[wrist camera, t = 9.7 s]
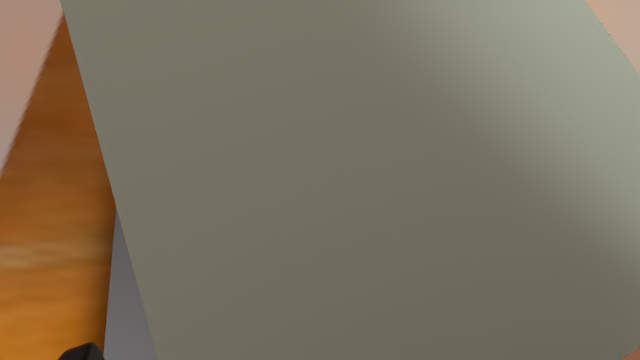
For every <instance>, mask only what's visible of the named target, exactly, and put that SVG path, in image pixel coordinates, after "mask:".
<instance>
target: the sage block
mask: <svg viewBox="0 0 640 360" xmlns="http://www.w3.org/2000/svg"><path fill="white" fill-rule="evenodd" d="M60 1H61V4H62V8H63V12H64V15H65V19H66V23H67V27H68V30H69V34H70V38H71V41H72V45H73V49H74V52H75V56H76V60H77V63H78V67H79V71H80V75H81V78H82V82H83V86H84V89H85V93H86V97H87V100H88V104H89V108H90V112H91V115H92V119H93V123H94V126H95V130H96V134H97V137H98V141H99V145H100V148H101V152H102V156H103V160H104V163H105V167H106V171H107V174H108V178H109V182H110V185H111V189H112V193H113V196H114V200H115V204H116V208H117V211H118V215H119V219H120V222H121V226H122V230H123V233H124V237H125V241H126V245H127V248H128V252H129V256H130V259H131V263H132V267H133V270H134V274H135V278H136V281H137V285H138V289H139V293H140V296H141V300H142V304H143V307H144V311H145V315H146V318H147V322H148V326H149V330H150V333H151V337H152V341H153V344H154V348H155V352H156V355H157V359H158V360H620V359H622V358H623V357H625V356H627V355H628V354H630V353H632V352H633V351H635V350H636V349H638V348H640V75H639V74H638V72H637V71H636V69H635V68H634V67H633V65H632V64H631V63H630V61H629V60H628V59H627V57H626V56H625V54H624V53H623V52H622V50H621V49H620V48H619V46H618V45H617V44H616V42H615V41H614V39H613V38H612V37H611V35H610V34H609V33H608V32H607V30H606V29H605V27H604V26H603V25H602V23H601V22H600V20H599V19H598V18H597V16H596V15H595V14H594V12H593V11H592V10H591V8H590V7H589V5H588V4H587V3H586V1H585V0H60Z"/></svg>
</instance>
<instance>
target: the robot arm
mask: <svg viewBox="0 0 640 360" xmlns="http://www.w3.org/2000/svg"><path fill="white" fill-rule="evenodd" d="M58 360H105V359H104V357H103V355H102V353H101V351H100V349H99V348H98V346H97V345H96V344H95V343H91V342H90V343H86V344H83V345H80V346H77V347H74V348H71V349H69V350H67V351H65V352H64V353H63V354H62V355H61V356H60V358H59V359H58Z"/></svg>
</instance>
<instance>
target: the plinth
mask: <svg viewBox="0 0 640 360" xmlns="http://www.w3.org/2000/svg"><path fill="white" fill-rule="evenodd" d="M103 357H104V359H105V360H158V359H157V355H156V352H155V348H154V344H153V341H152V337H151V333H150V330H149V326H148V322H147V318H146V315H145V311H144V307H143V304H142V300H141V296H140V293H139V289H138V285H137V281H136V278H135V274H134V270H133V267H132V263H131V259H130V256H129V252H128V248H127V245H126V241H125V237H124V233H123V230H122V226H121V222H120V219H119V215H118V211H117V208H116V215H115V226H114V238H113V250H112V261H111V273H110V284H109V296H108V308H107V319H106V331H105V342H104V354H103Z"/></svg>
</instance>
